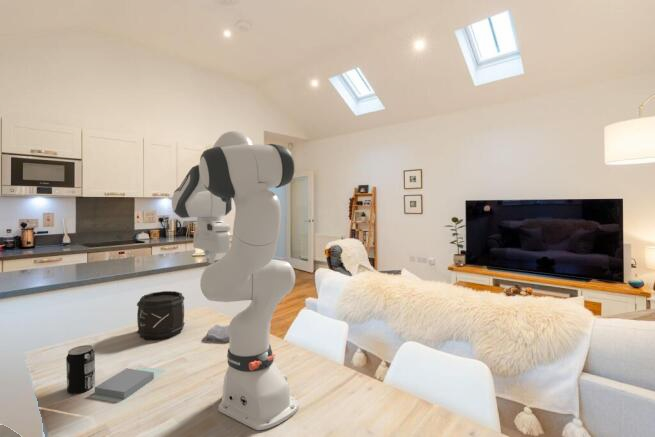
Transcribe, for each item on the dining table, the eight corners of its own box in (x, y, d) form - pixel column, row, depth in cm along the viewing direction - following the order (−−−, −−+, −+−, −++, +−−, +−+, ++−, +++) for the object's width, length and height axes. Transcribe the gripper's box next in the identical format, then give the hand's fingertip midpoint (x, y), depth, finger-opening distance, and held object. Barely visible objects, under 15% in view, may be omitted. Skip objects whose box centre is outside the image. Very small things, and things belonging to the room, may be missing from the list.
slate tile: (126, 368, 103) (94, 387, 93) (153, 372, 101) (124, 392, 91) (126, 374, 104) (94, 394, 93) (153, 379, 101) (124, 399, 91)
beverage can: (65, 389, 96) (64, 349, 95) (93, 381, 101) (92, 342, 100) (68, 399, 91) (67, 356, 91) (97, 389, 96) (96, 349, 95)
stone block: (233, 347, 130) (241, 332, 139) (232, 336, 129) (240, 322, 138) (204, 346, 131) (214, 332, 140) (202, 336, 129) (212, 322, 139)
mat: (166, 371, 107) (166, 370, 107) (120, 403, 89) (120, 402, 89) (140, 367, 109) (140, 366, 109) (90, 398, 92) (90, 397, 92)
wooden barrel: (128, 334, 136) (127, 296, 135) (170, 322, 150) (170, 288, 150) (148, 346, 125) (148, 305, 124) (192, 332, 139) (192, 295, 139)
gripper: (188, 223, 124) (188, 260, 124) (216, 226, 110) (216, 267, 110) (204, 223, 128) (204, 258, 129) (233, 226, 114) (232, 265, 115)
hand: (210, 262), depth 119 cm, fingers closed
